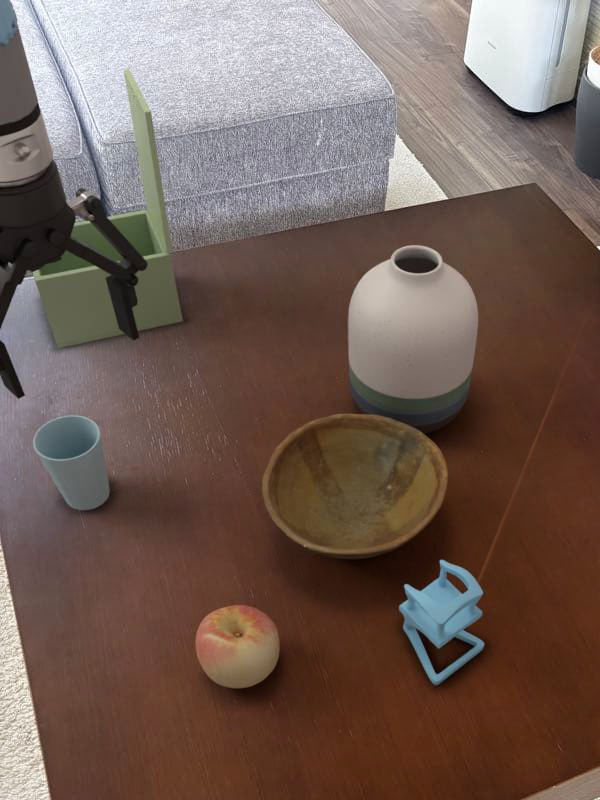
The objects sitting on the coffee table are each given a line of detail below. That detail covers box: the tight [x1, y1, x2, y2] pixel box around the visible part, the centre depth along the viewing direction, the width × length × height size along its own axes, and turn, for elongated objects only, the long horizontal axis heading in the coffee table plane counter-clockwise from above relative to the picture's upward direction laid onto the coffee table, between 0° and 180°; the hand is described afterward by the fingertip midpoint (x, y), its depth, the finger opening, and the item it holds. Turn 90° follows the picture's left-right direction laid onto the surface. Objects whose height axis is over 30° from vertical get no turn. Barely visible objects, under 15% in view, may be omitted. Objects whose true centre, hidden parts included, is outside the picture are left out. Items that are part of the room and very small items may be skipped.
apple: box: [195, 604, 281, 689], centre depth 93 cm, size 9×9×8 cm
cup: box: [32, 414, 111, 511], centre depth 107 cm, size 8×8×10 cm
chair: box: [398, 559, 485, 686], centre depth 94 cm, size 8×8×12 cm
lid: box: [123, 68, 173, 253], centre depth 120 cm, size 20×13×1 cm
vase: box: [347, 244, 479, 435], centre depth 114 cm, size 17×17×24 cm
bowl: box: [261, 413, 449, 560], centre depth 105 cm, size 22×23×10 cm
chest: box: [32, 209, 184, 349], centre depth 130 cm, size 19×13×12 cm
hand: (74, 361), depth 90 cm, fingers open, 13 cm apart
